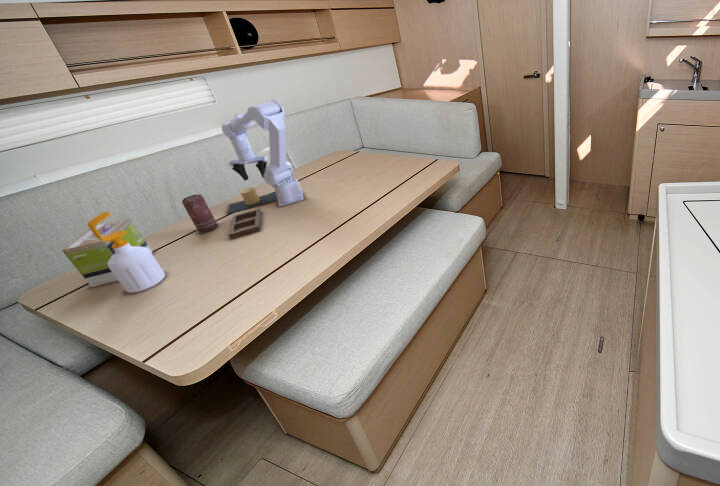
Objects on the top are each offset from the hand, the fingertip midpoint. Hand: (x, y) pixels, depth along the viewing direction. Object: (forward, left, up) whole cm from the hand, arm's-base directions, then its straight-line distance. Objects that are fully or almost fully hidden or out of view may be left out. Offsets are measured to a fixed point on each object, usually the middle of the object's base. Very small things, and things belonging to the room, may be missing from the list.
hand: (255, 178), depth 155 cm
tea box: (+39, +33, -10) cm, 52 cm away
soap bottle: (+30, +48, -10) cm, 57 cm away
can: (+18, +19, -10) cm, 28 cm away
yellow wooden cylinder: (+4, +4, -9) cm, 11 cm away
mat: (+4, +4, -9) cm, 11 cm away
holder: (+5, +26, -9) cm, 28 cm away
